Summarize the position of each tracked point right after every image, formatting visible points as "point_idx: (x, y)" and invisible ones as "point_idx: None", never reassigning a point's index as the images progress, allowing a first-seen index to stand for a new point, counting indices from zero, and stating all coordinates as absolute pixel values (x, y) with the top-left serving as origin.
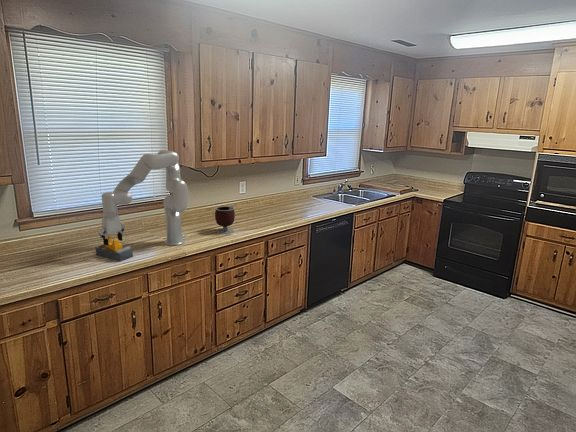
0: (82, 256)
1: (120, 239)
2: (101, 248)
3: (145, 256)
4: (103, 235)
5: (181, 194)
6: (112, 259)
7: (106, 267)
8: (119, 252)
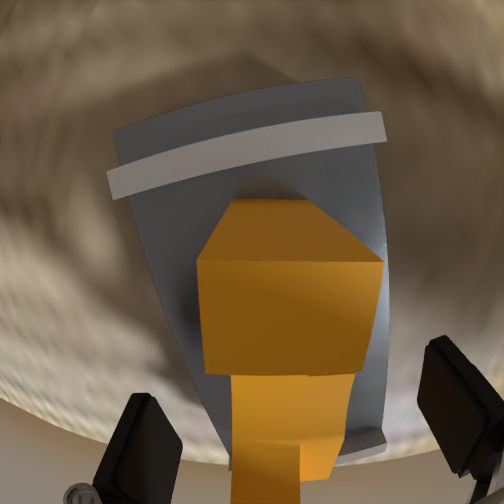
0: (65, 93)
1: (424, 403)
2: (151, 254)
3: (400, 426)
4: None
5: None
6: None
7: None
8: None
